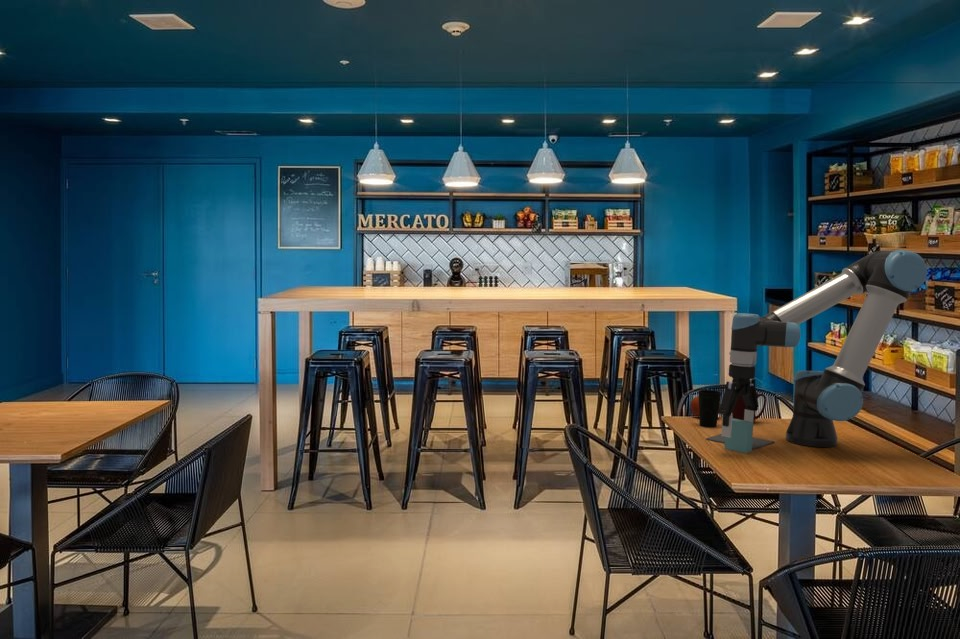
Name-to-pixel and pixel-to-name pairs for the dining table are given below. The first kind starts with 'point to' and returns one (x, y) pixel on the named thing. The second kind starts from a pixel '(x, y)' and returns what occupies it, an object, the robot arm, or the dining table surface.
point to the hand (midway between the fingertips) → (737, 433)
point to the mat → (755, 441)
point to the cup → (709, 407)
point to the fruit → (696, 406)
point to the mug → (740, 408)
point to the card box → (740, 436)
